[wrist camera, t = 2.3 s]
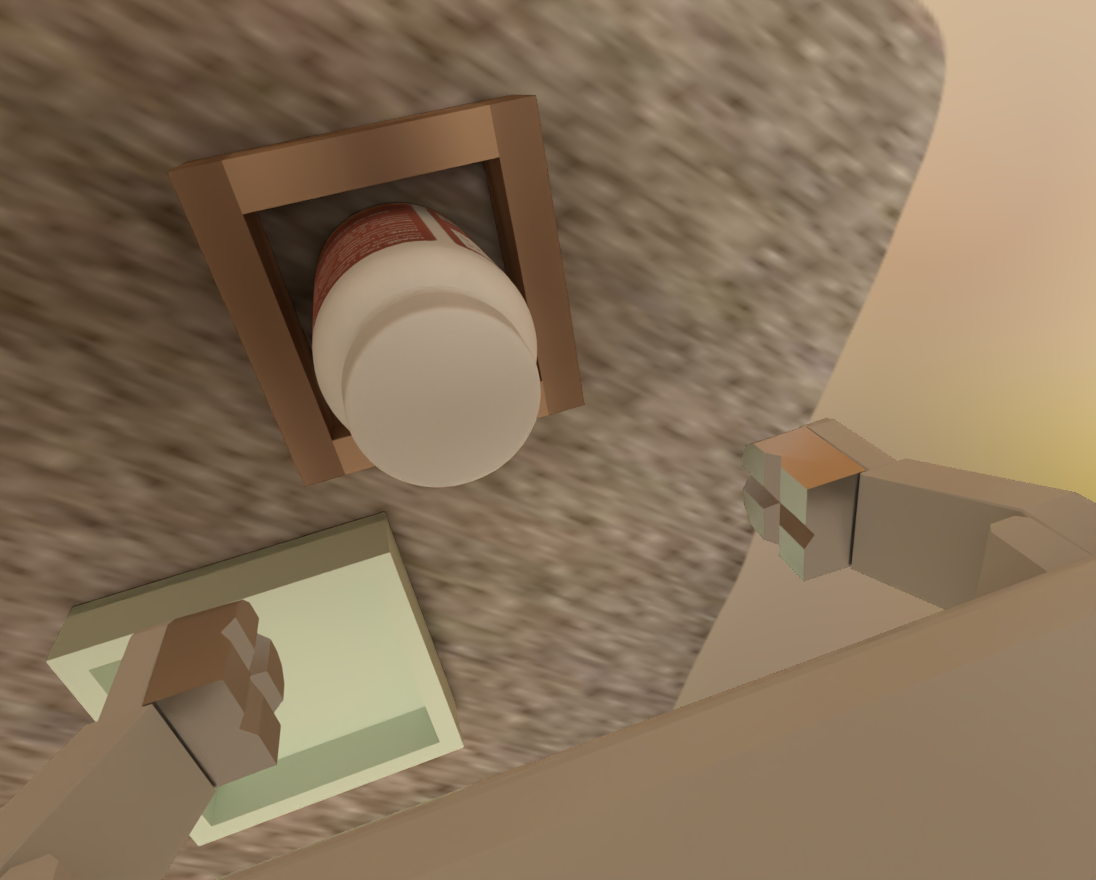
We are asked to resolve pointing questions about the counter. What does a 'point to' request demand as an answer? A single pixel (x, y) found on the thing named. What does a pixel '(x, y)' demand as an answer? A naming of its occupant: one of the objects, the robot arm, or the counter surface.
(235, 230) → the collar
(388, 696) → the tray
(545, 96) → the counter surface
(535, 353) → the pill bottle
